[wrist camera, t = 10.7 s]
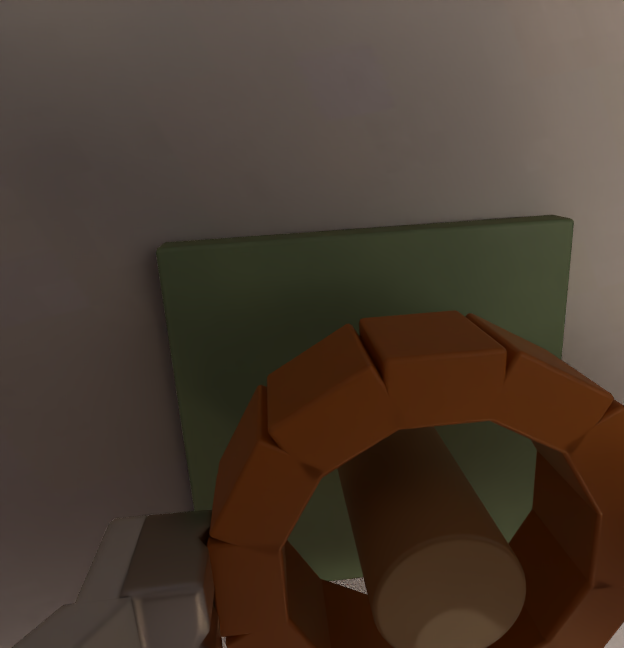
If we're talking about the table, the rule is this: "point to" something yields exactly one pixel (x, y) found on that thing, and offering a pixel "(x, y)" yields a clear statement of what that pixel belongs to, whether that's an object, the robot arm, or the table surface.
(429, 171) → the table surface
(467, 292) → the post
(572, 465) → the ring
